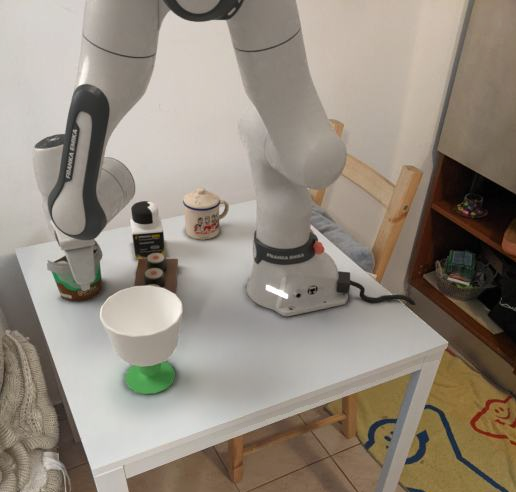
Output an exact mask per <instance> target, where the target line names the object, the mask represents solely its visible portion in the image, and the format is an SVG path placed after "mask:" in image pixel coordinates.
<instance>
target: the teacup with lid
mask: <svg viewBox="0 0 516 492" xmlns="http://www.w3.org/2000/svg"><path fill="white" fill-rule="evenodd" d="M182 203H183V207H184V208H183V209H184V226H185V233H186V235H187V236H188V237H190V238H192V239H195V240H202V241H203V240H210V239H213V238H215V237H216V236H218V234H219V233H220V220H223V219H224V218H225V217H226V216H227V214H228V213H229V210H230V204H229V203H228V202H227V201H226V200H224V199H221V198H220V197H219V195H218V194H216V192H213V191H210V190H206V188H205V187H198V188H197V190H194V191H190V192H188V193H187V194H185V196H184V197H183V199H182ZM220 205H224V210H223V211H222V213H221V214H220Z"/></svg>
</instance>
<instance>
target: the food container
mask: <svg viewBox="0 0 516 492" xmlns="http://www.w3.org/2000/svg"><path fill="white" fill-rule="evenodd" d="M92 247H93V254H94V265H95V281H94V282H92V283H89V284H90V289H89V290H85V291H83V290H81V286H80V285H78V284H77V283H76V281H75V279H74V277H73V274H72V271H71V269H70V266H69V263H68V260H67V258H66V255H65V254H64V256H62V257H60V258H58V259H56V260H54V261H51V260H49V259H47V263H46V269H47V271H49V272H51V274H52V277H53V279H54V282H55V284H56V287H57V289H58V292H59V295H60V297H61V299H63V300H65V301H68V302H69V301H70V302H84V301H88V300H91V299H93V298H95V297H97V296H98V295H99V294H100V293H101V291H102V289H103V281H102V269H101V260H102V259H103V251H102V249H101V247H100V245H99V243H98V241H97V240H95V245H92Z"/></svg>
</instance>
